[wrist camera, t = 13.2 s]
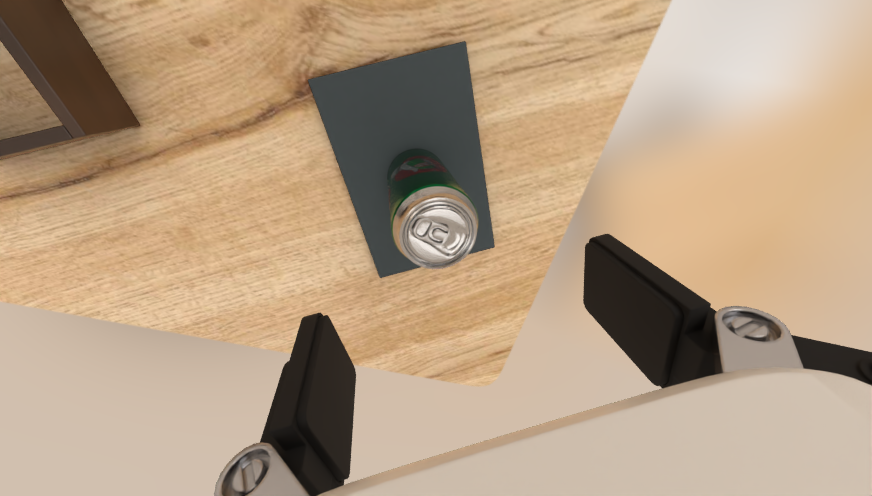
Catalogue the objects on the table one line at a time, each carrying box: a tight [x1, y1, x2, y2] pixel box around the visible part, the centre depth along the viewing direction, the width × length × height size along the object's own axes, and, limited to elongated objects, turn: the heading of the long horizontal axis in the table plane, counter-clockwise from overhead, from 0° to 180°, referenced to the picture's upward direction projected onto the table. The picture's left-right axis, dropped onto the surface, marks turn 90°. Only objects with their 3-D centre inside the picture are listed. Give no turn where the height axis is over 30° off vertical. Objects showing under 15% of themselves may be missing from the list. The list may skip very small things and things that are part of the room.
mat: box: [308, 41, 495, 278], centre depth 28 cm, size 18×12×1 cm, turn 12°
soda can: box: [387, 148, 478, 269], centre depth 23 cm, size 5×5×12 cm
